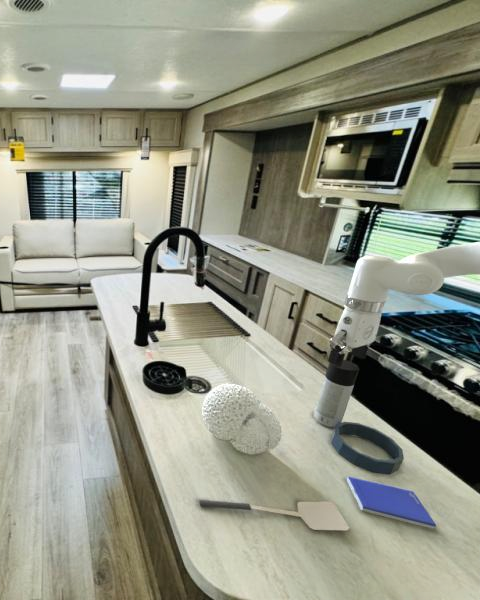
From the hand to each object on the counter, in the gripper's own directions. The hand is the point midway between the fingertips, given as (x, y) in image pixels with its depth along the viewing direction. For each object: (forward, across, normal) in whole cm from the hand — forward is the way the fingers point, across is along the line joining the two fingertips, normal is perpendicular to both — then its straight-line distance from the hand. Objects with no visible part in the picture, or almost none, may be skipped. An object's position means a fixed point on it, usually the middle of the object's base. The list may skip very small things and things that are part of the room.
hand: (346, 360), depth 87 cm
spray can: (+22, 0, 0) cm, 22 cm away
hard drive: (+22, -14, -22) cm, 34 cm away
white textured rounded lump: (+21, -30, +6) cm, 37 cm away
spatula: (+21, -41, -14) cm, 48 cm away
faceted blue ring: (+21, -3, -11) cm, 24 cm away
